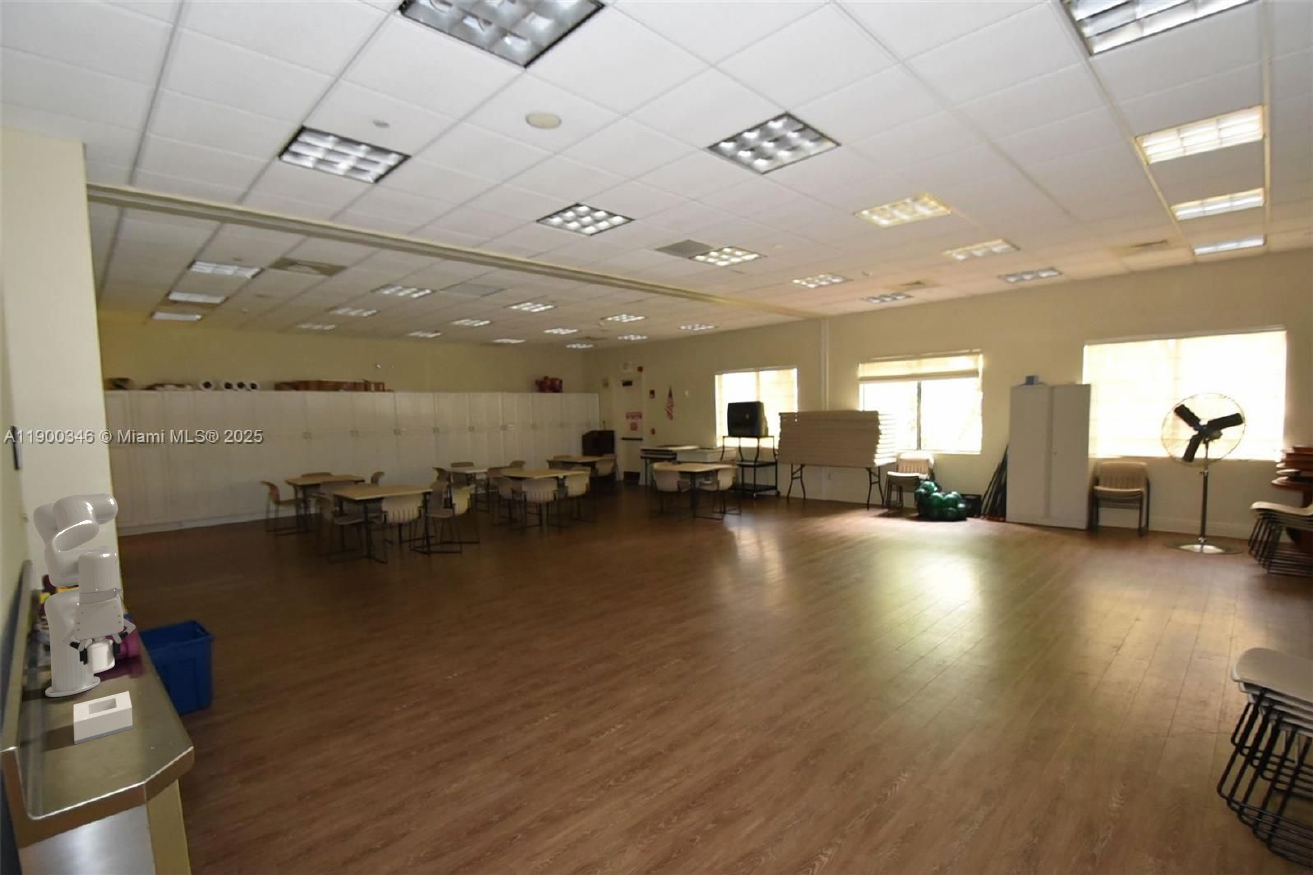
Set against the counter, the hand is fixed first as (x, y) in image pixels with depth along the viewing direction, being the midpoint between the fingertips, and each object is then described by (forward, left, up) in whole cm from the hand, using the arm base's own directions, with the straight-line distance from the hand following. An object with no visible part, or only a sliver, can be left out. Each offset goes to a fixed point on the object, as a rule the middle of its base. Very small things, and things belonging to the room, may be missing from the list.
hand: (100, 659), depth 166 cm
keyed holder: (0, 0, -19) cm, 19 cm away
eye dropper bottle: (0, 0, -3) cm, 3 cm away
